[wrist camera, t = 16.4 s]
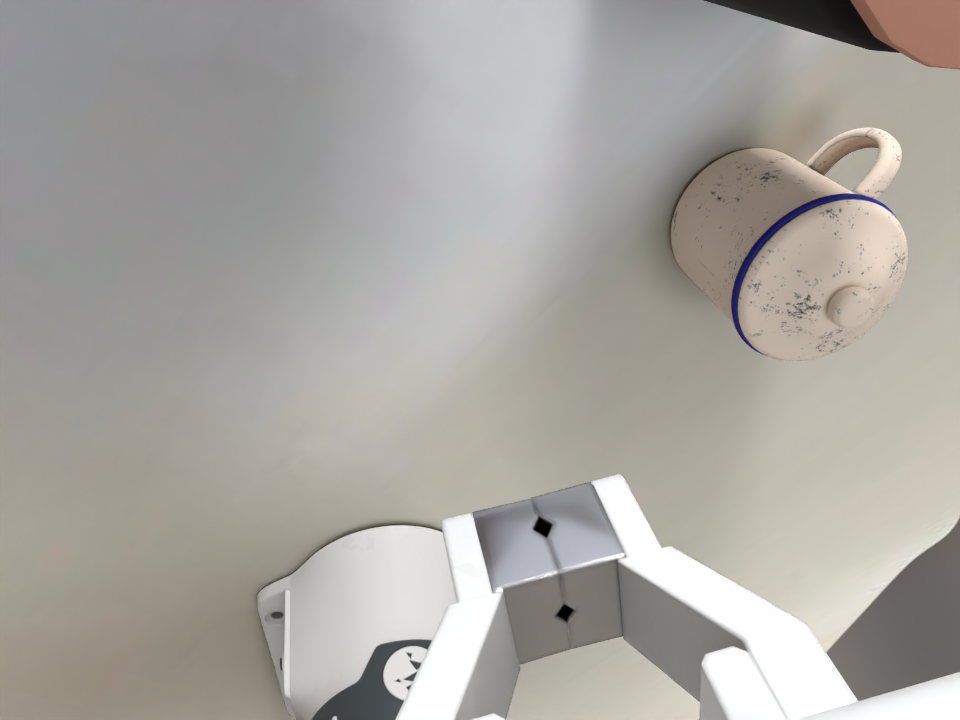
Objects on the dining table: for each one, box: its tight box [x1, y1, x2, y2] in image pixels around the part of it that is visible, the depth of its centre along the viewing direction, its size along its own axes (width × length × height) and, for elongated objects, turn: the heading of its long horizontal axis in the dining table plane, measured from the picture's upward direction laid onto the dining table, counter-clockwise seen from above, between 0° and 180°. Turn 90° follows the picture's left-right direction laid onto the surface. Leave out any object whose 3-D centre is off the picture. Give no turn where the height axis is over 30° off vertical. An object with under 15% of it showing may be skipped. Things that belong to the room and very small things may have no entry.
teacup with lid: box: [671, 128, 908, 361], centre depth 38 cm, size 12×9×12 cm
